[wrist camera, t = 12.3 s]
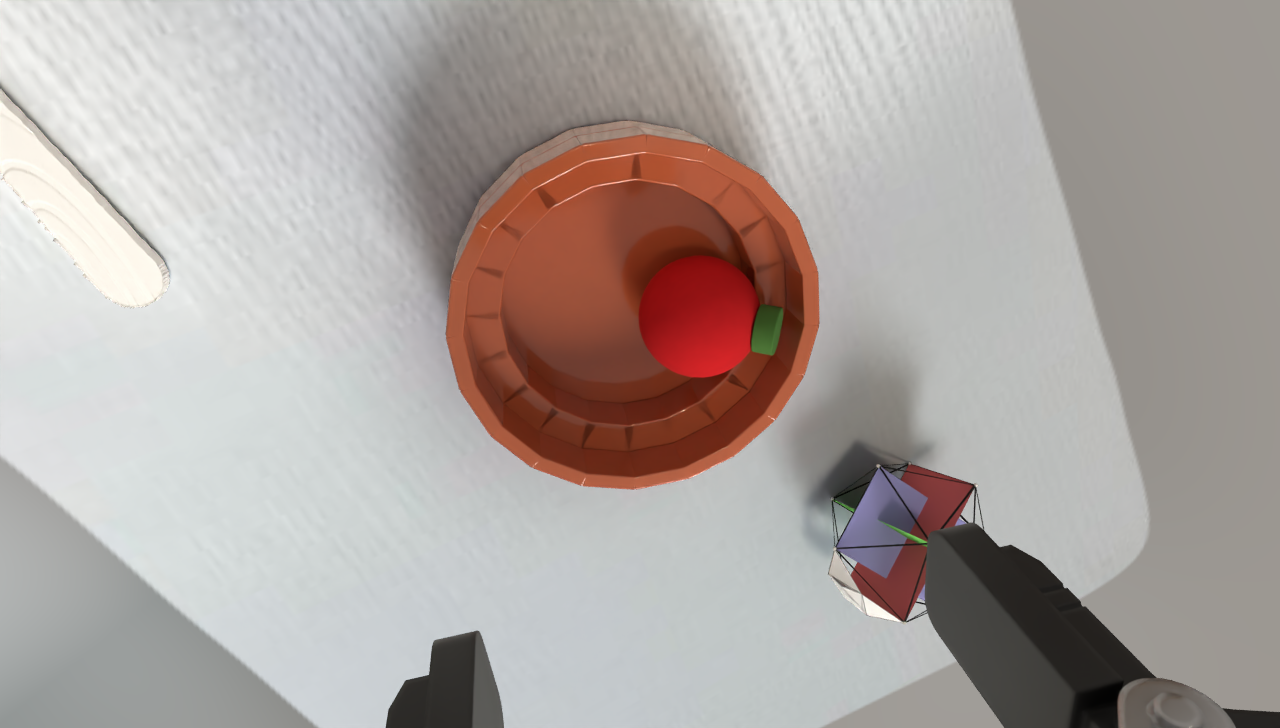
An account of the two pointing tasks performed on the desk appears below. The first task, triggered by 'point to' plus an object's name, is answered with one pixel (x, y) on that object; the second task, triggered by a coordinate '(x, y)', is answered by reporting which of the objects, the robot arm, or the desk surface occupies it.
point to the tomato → (705, 317)
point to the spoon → (78, 214)
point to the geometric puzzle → (895, 538)
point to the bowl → (620, 305)
